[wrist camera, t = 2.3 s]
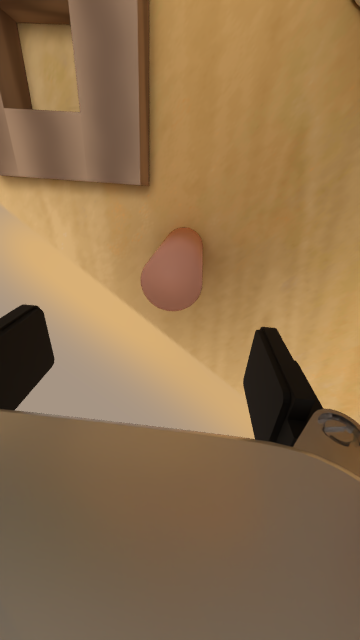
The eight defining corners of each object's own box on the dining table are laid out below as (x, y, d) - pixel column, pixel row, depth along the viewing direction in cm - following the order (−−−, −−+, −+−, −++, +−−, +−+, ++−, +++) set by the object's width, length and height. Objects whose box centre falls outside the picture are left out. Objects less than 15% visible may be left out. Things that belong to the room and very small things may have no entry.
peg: (204, 228, 26) (205, 254, 16) (200, 268, 28) (198, 313, 18) (165, 225, 27) (140, 249, 16) (164, 264, 29) (141, 308, 18)
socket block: (149, -71, 17) (135, -139, 14) (149, 185, 25) (140, 184, 21) (-63, -76, 18) (-129, -140, 14) (1, 175, 26) (-31, 172, 22)
